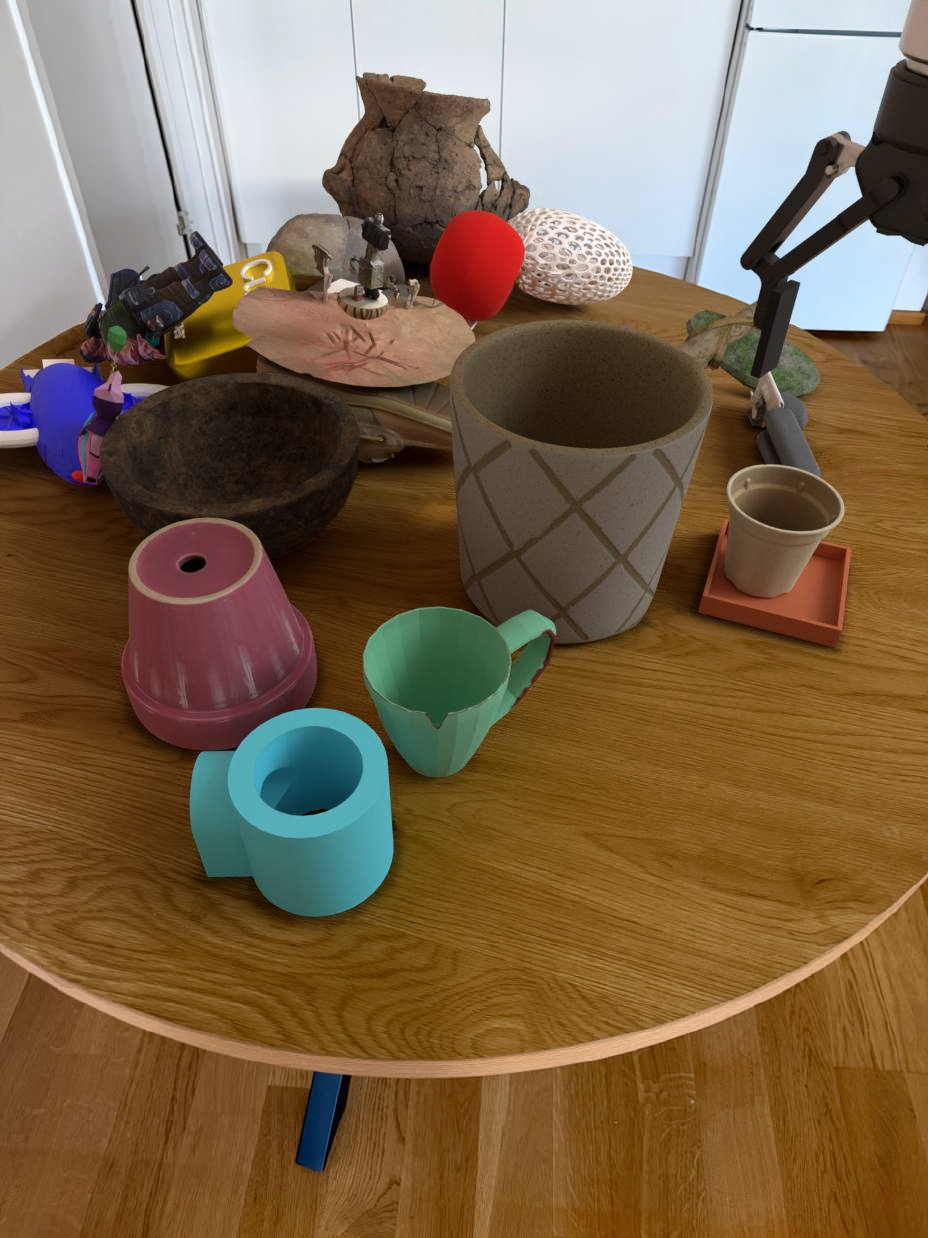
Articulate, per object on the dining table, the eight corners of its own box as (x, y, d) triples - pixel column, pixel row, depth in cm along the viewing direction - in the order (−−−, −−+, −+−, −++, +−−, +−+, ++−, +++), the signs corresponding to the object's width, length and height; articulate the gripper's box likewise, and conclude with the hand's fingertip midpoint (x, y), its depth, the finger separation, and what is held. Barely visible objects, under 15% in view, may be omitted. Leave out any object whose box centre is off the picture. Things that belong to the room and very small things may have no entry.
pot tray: (844, 564, 82) (851, 547, 81) (834, 648, 75) (842, 630, 73) (719, 534, 85) (724, 517, 84) (697, 612, 78) (702, 595, 76)
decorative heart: (568, 322, 108) (631, 319, 121) (595, 227, 102) (658, 235, 116) (450, 277, 115) (521, 278, 128) (470, 186, 110) (542, 198, 123)
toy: (160, 293, 85) (133, 436, 93) (115, 278, 84) (91, 425, 91) (142, 345, 73) (111, 507, 80) (88, 330, 72) (62, 495, 79)
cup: (199, 919, 57) (169, 840, 51) (223, 792, 64) (199, 709, 57) (391, 915, 57) (385, 837, 51) (395, 790, 64) (390, 707, 58)
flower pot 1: (289, 632, 57) (308, 754, 66) (312, 496, 67) (326, 619, 76) (60, 629, 57) (110, 753, 66) (118, 493, 67) (154, 617, 76)
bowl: (243, 648, 73) (222, 553, 66) (77, 541, 83) (43, 448, 76) (414, 517, 86) (412, 426, 79) (254, 436, 95) (239, 348, 88)
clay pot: (285, 235, 121) (303, 49, 111) (392, 238, 140) (416, 78, 129) (435, 284, 111) (471, 84, 101) (529, 280, 130) (567, 111, 119)
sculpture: (509, 327, 100) (538, 183, 89) (406, 442, 85) (424, 285, 73) (314, 252, 105) (316, 106, 93) (182, 348, 90) (165, 187, 78)
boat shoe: (510, 399, 93) (492, 470, 97) (279, 337, 94) (272, 409, 98) (496, 427, 85) (478, 503, 89) (246, 359, 86) (239, 436, 91)
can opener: (737, 403, 101) (748, 362, 98) (795, 406, 101) (808, 365, 98) (766, 508, 88) (780, 465, 84) (833, 512, 88) (849, 468, 84)
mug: (417, 831, 62) (413, 739, 55) (345, 736, 67) (334, 642, 60) (582, 736, 68) (598, 642, 61) (504, 656, 74) (511, 562, 67)
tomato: (467, 173, 102) (550, 215, 103) (443, 241, 113) (519, 278, 114) (430, 251, 98) (517, 294, 99) (409, 314, 109) (488, 352, 110)
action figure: (214, 265, 88) (72, 381, 90) (256, 315, 93) (121, 424, 95) (172, 194, 101) (49, 296, 103) (211, 241, 106) (93, 338, 108)
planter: (695, 650, 74) (754, 444, 60) (465, 672, 72) (470, 463, 58) (632, 508, 88) (667, 312, 74) (435, 523, 86) (434, 324, 72)
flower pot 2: (793, 539, 84) (821, 461, 78) (830, 610, 77) (863, 531, 71) (693, 543, 83) (713, 464, 77) (721, 614, 77) (745, 534, 71)
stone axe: (577, 398, 94) (621, 253, 112) (568, 436, 98) (612, 290, 116) (827, 458, 92) (830, 300, 110) (808, 494, 95) (814, 336, 114)
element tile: (175, 315, 109) (156, 282, 105) (293, 275, 109) (279, 241, 105) (184, 399, 101) (164, 367, 97) (312, 356, 101) (297, 322, 96)
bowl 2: (413, 227, 121) (407, 291, 124) (280, 208, 120) (277, 272, 123) (408, 221, 104) (400, 295, 107) (253, 198, 103) (249, 273, 106)
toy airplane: (-71, 465, 79) (-57, 514, 82) (222, 443, 88) (223, 488, 92) (-66, 342, 95) (-55, 388, 98) (181, 334, 104) (184, 376, 107)
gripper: (733, 37, 55) (672, 361, 69) (1198, 128, 42) (1004, 499, 57) (796, 19, 59) (725, 329, 73) (1237, 98, 46) (1046, 452, 61)
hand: (847, 404), depth 65 cm, fingers open, 13 cm apart
